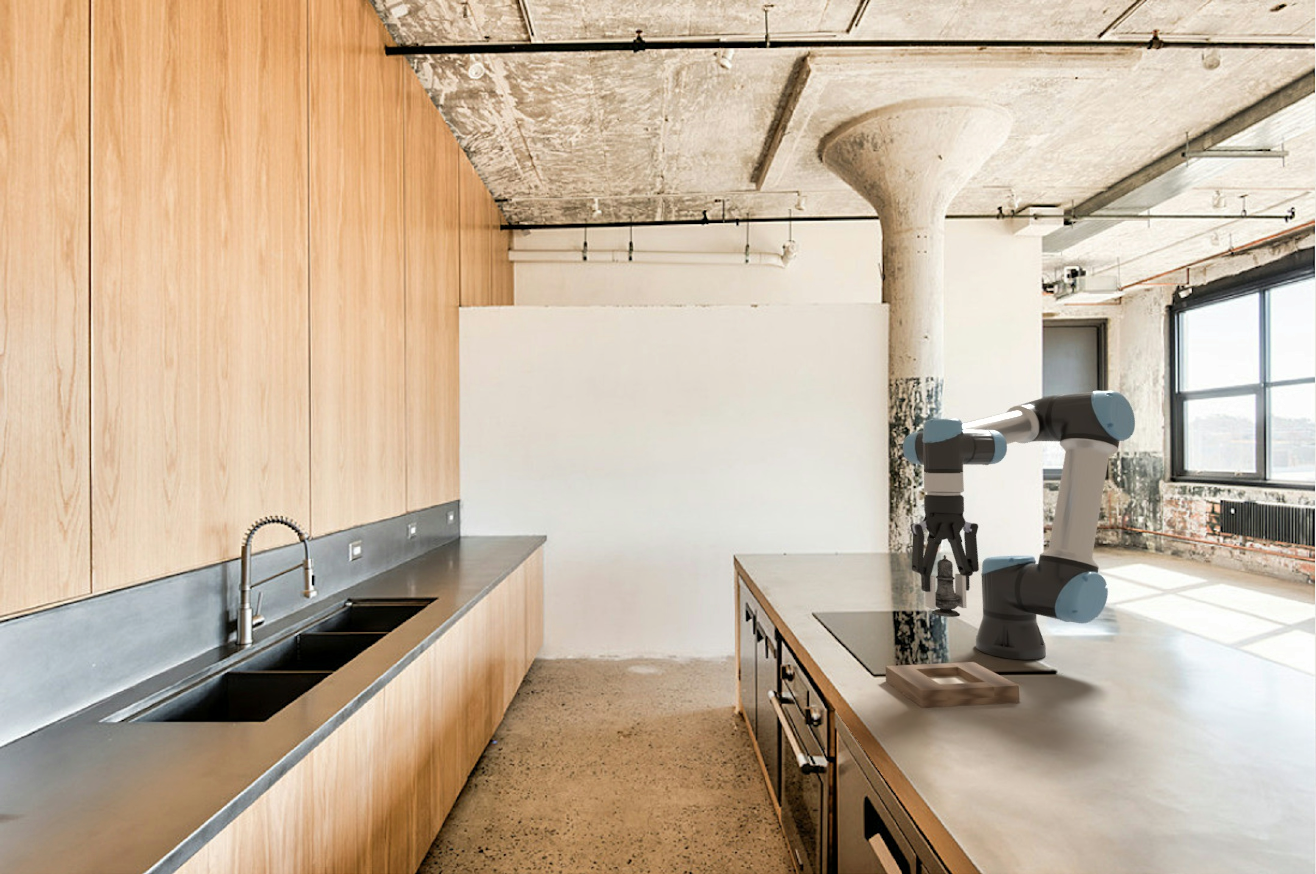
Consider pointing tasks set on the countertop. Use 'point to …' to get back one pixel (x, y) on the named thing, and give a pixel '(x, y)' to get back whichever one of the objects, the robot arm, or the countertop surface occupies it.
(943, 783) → the countertop surface
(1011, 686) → the wooden frame
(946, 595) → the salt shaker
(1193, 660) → the countertop surface
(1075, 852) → the countertop surface
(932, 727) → the countertop surface
